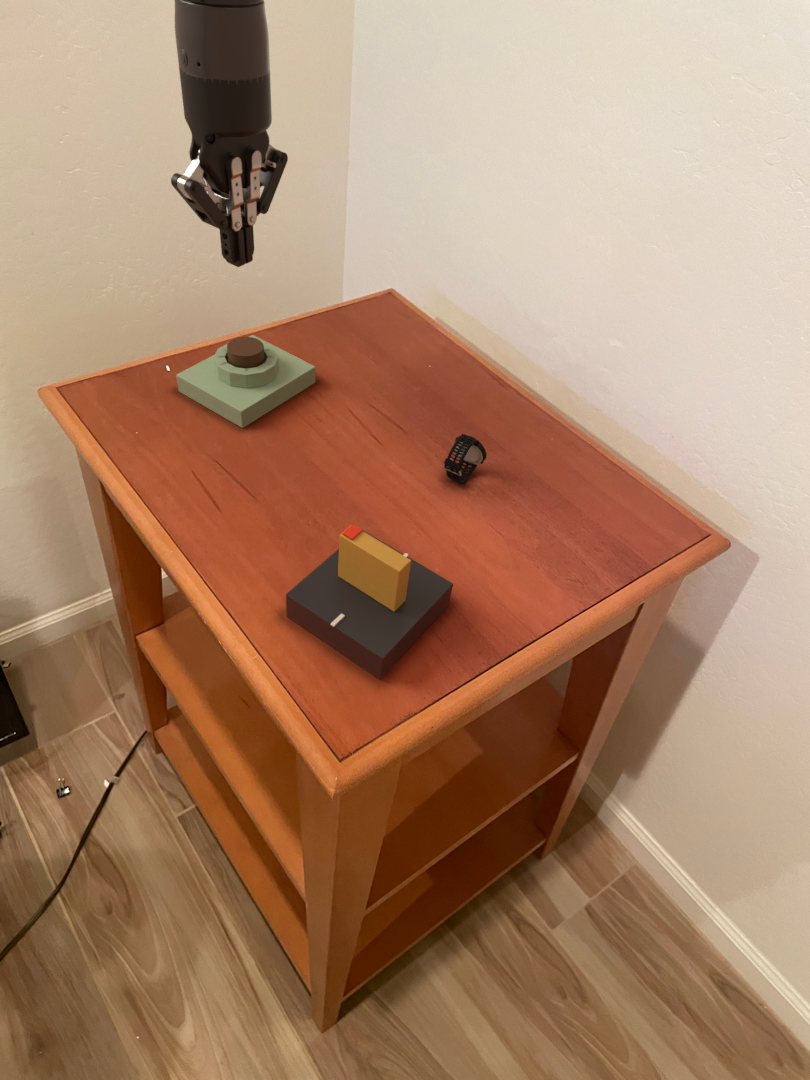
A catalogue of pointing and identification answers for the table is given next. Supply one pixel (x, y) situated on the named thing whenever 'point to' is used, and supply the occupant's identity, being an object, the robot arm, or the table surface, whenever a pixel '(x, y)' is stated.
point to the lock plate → (367, 614)
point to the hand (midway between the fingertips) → (239, 261)
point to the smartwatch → (464, 458)
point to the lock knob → (373, 567)
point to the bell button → (245, 352)
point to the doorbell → (246, 383)
